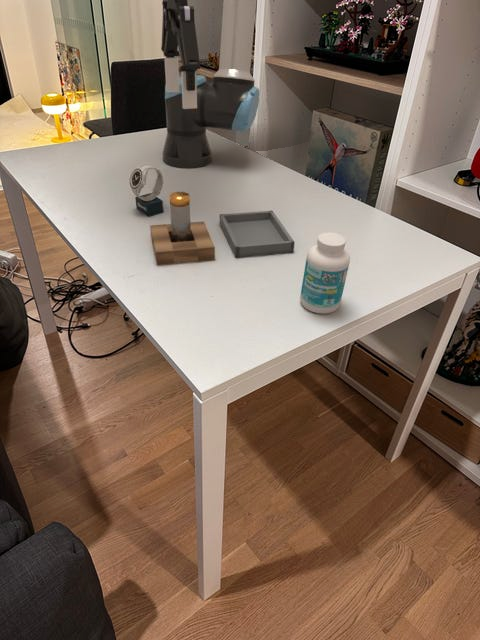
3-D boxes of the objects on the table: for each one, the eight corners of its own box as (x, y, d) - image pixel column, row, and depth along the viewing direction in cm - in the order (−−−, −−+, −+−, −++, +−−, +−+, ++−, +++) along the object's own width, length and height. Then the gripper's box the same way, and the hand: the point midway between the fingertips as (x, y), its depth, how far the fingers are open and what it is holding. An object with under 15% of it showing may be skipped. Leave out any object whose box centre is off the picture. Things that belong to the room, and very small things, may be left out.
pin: (171, 244, 101) (168, 192, 94) (189, 243, 102) (187, 191, 95) (173, 253, 98) (170, 200, 91) (192, 252, 99) (191, 199, 92)
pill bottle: (295, 309, 84) (304, 243, 76) (305, 288, 90) (314, 225, 81) (335, 319, 82) (349, 253, 74) (343, 297, 88) (357, 233, 79)
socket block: (151, 237, 103) (150, 225, 101) (204, 233, 106) (203, 221, 104) (156, 265, 94) (155, 252, 92) (214, 259, 97) (214, 247, 95)
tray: (219, 224, 110) (219, 214, 108) (271, 220, 113) (272, 210, 111) (235, 257, 98) (235, 247, 96) (293, 252, 100) (294, 242, 99)
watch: (129, 210, 114) (124, 166, 107) (157, 203, 118) (154, 160, 111) (141, 219, 110) (136, 174, 104) (169, 210, 115) (167, 166, 108)
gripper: (141, -34, 90) (150, 86, 103) (172, -28, 71) (178, 117, 85) (179, -32, 92) (183, 85, 105) (218, -27, 74) (217, 114, 87)
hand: (180, 99), depth 95 cm, fingers open, 13 cm apart
